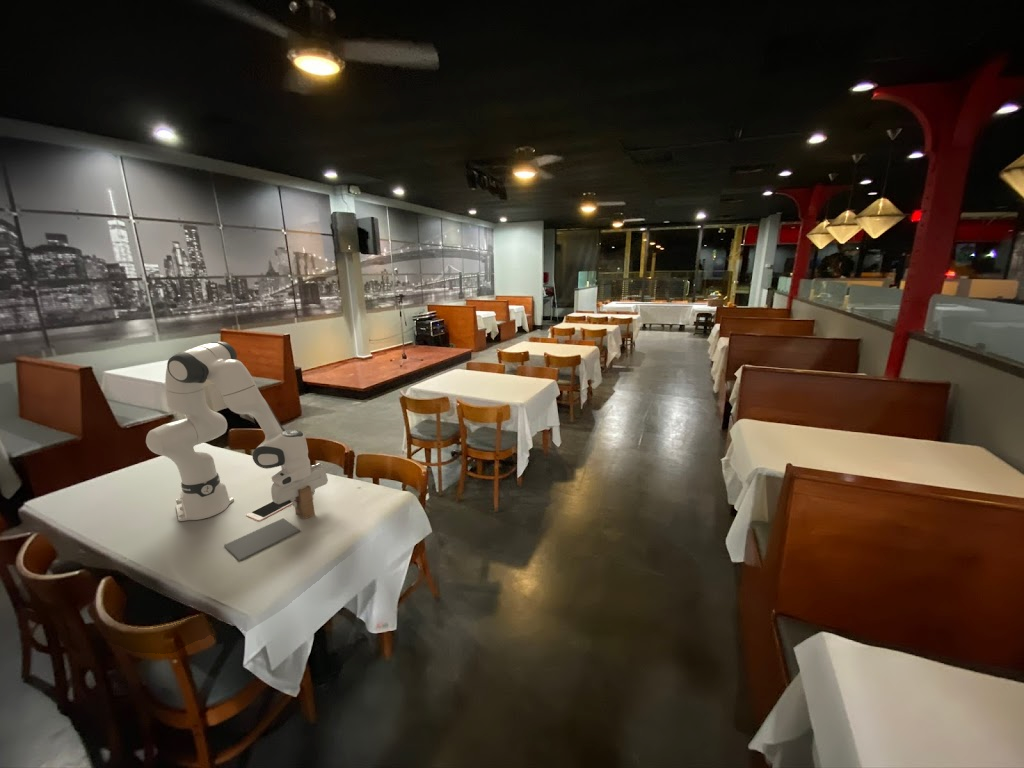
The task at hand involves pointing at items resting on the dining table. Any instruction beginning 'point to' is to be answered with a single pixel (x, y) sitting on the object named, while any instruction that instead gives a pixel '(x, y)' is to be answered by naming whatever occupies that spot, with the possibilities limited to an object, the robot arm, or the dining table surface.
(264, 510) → the cell phone
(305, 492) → the walnut block
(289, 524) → the rubber mat
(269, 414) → the robot arm
